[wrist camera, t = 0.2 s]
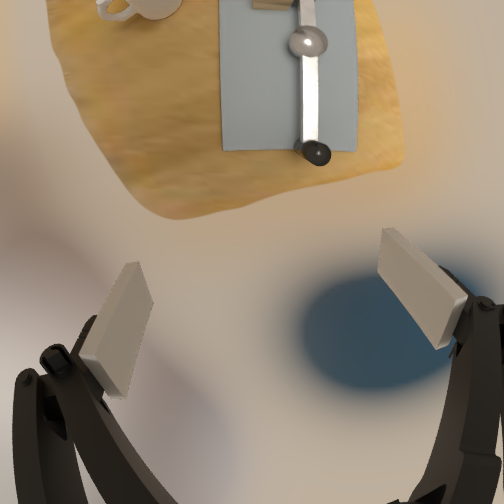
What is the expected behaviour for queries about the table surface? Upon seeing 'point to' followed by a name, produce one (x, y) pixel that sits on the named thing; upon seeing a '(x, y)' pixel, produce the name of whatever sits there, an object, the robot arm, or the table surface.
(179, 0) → the mug
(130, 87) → the table surface
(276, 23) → the base
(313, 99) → the lever
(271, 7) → the block
